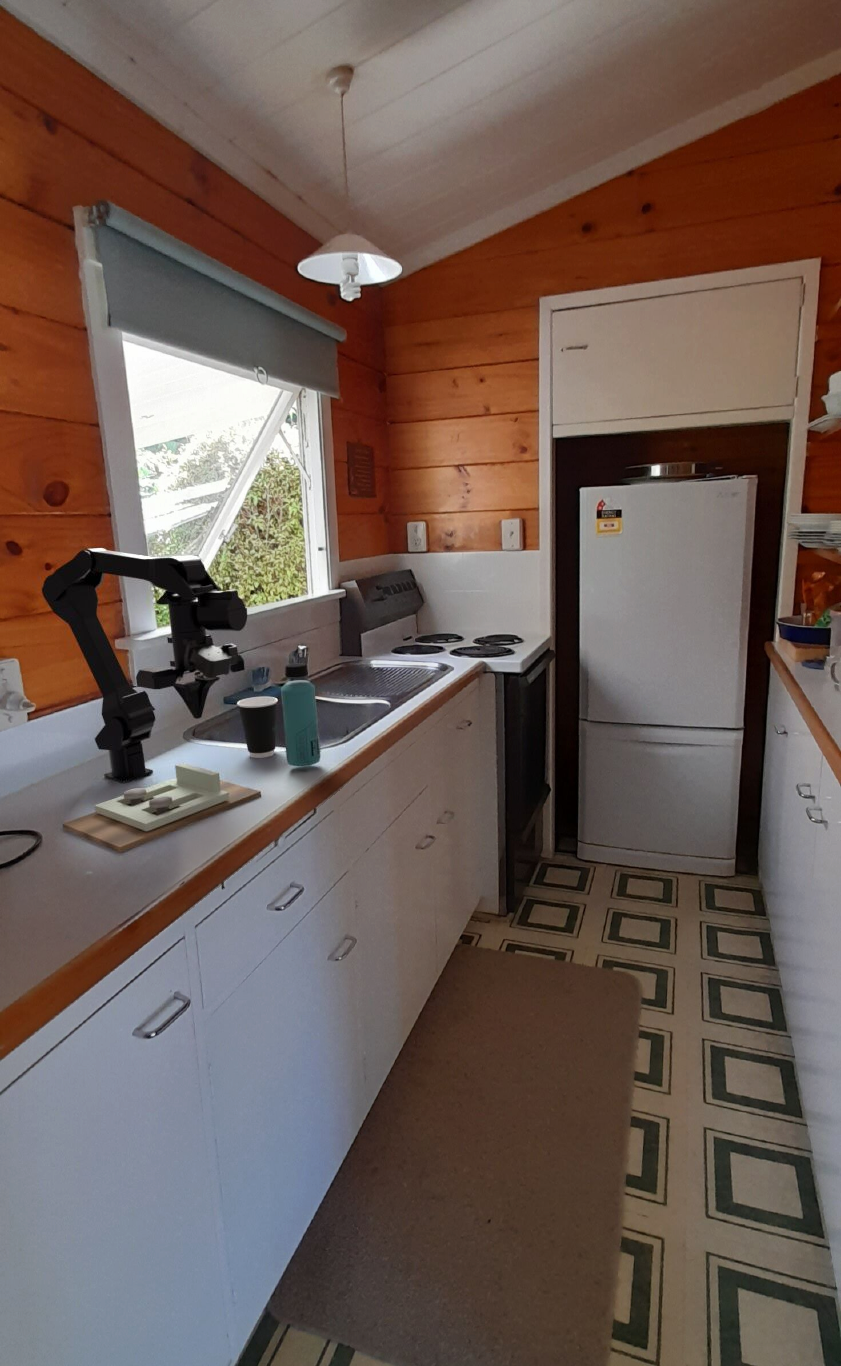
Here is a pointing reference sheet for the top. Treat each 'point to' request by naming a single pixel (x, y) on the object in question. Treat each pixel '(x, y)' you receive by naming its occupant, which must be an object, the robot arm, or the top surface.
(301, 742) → the beverage bottle
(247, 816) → the top surface
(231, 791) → the walnut board
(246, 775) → the top surface
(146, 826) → the sage panel
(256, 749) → the dixie cup
